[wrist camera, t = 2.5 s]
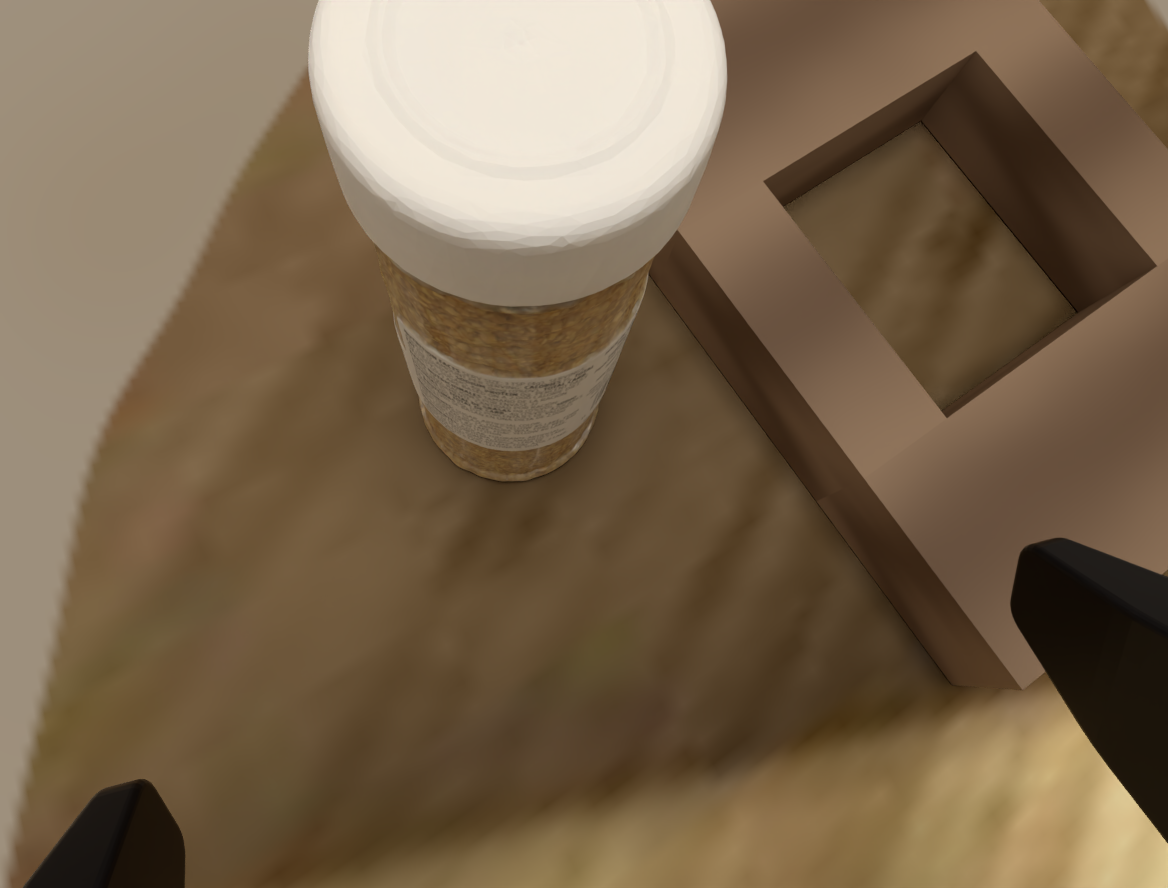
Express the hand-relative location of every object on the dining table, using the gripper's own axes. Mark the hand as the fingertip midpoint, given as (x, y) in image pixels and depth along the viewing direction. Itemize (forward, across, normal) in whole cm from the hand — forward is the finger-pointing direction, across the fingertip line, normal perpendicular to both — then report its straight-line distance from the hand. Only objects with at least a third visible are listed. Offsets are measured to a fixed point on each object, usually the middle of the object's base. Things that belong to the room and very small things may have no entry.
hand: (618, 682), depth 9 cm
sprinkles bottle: (+14, 0, +4) cm, 14 cm away
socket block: (+14, -12, +3) cm, 19 cm away
